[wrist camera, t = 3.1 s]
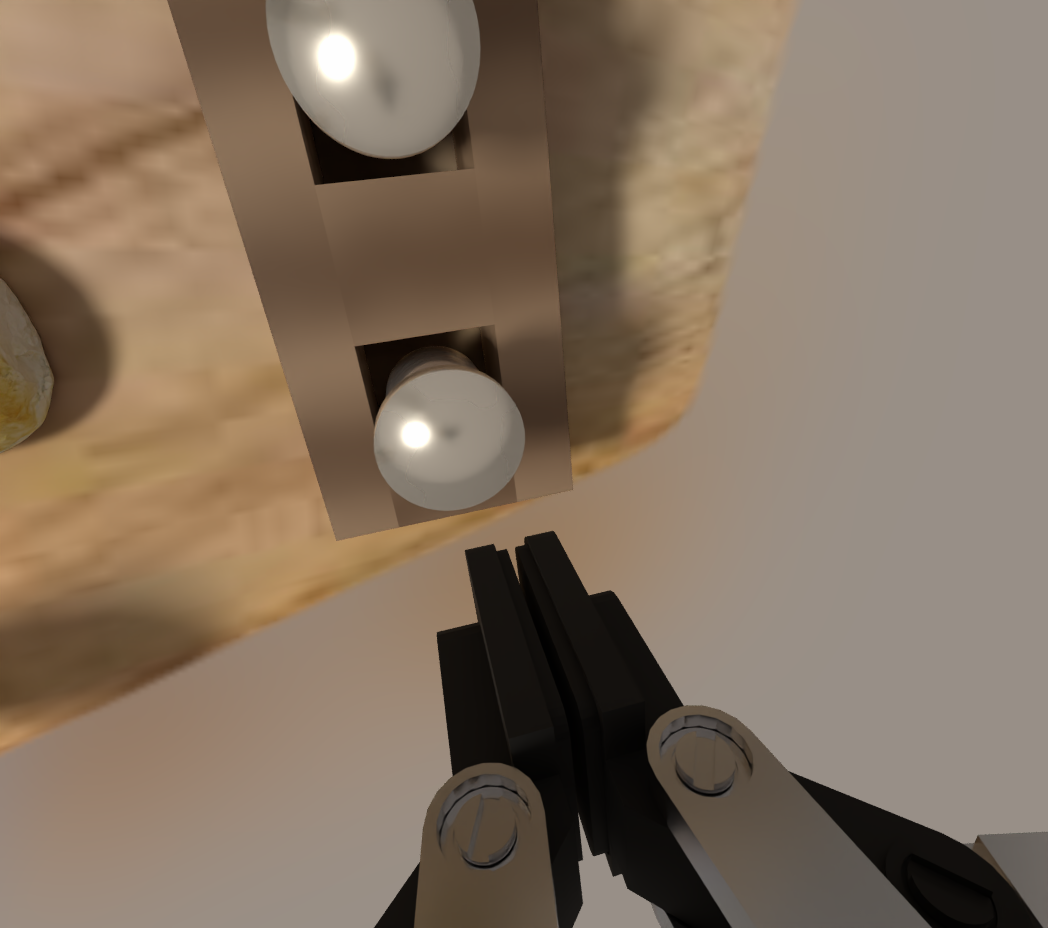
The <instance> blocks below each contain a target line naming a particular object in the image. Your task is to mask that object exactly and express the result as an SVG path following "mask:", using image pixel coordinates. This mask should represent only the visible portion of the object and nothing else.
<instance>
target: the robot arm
mask: <svg viewBox="0 0 1048 928" xmlns="http://www.w3.org/2000/svg"><path fill="white" fill-rule="evenodd" d="M524 543H525V545H523V546H518V547H516V548H515V553H516V560H517V568H518V575H519V581H518V578H517V576H516V573H515V570H514V567H513V565H512V562H511V559H510V556H509V554H508V551H507V549H505V550H500V551H496V548H495V546H494V544H491V545H487V546H482V547H477V548H473V549H468V550H465V555H466V560H467V565H468V571H469V576H470V582H471V587H472V592H473V598H474V603H475V608H476V614H477V619H478V622H477V623H474V624H469V625H465V626H461V627H457V628H453V629H448V630H445V631H440V632H437V643H438V652H439V660H440V669H441V677H442V686H443V695H444V704H445V713H446V722H447V730H448V739H449V748H450V755H451V765H452V774H453V776H452V777H451V778H450V779H449V780H448V781H447V782H446V783H445V784H444V785H443V786H442V787H441V788H440V789H439V790H438V791H437V793H436V795H435V797H434V798H433V800H432V802H431V804H430V806H429V808H428V809H427V814H426V818H425V822H424V826H423V833H422V845H421V855H420V862H419V864H418V865H417V867H416V868H415V870H414V871H413V872H412V874H411V876H410V877H409V878H408V880H407V881H406V882H405V884H404V885H403V887H402V888H401V890H400V891H399V893H398V894H397V895H396V897H395V898H394V900H393V901H392V903H391V904H390V906H389V907H388V909H387V910H386V911H385V913H384V914H383V916H382V917H381V919H380V920H379V921H378V923H377V924H376V926H375V927H374V928H572V927H573V925H574V922H575V921H576V918H577V916H578V913H579V911H580V909H581V907H582V904H583V900H582V891H581V882H580V873H579V864H578V861H581V860H583V856H582V846H581V837H580V827H579V817H578V813H579V816H580V820H581V823H582V825H583V829H584V832H585V835H586V838H587V841H588V845H589V847H590V850H591V853H592V855H593V856H596V855H600V854H603V853H605V854H606V857H607V861H608V864H609V867H610V870H611V872H612V875H613V877H614V876H617V875H619V874H622V875H623V877H624V880H625V883H626V886H627V889H629V890H631V891H632V892H634V893H636V894H637V895H639V896H641V897H643V898H644V899H646V900H648V901H649V902H651V905H652V908H653V910H654V913H655V916H656V918H657V920H658V922H659V924H660V926H661V928H1048V832H1034V833H1012V834H989V835H978V836H977V838H976V840H975V843H969V844H962V843H960V842H958V841H956V840H954V839H952V838H950V837H948V836H946V835H944V834H942V833H940V832H938V831H935V830H932V829H930V828H928V827H925V826H923V825H920V824H918V823H915V822H913V821H910V820H908V819H905V818H903V817H900V816H898V815H895V814H893V813H891V812H888V811H885V810H883V809H881V808H878V807H876V806H873V805H871V804H868V803H866V802H863V801H861V800H858V799H856V798H854V797H851V796H849V795H846V794H843V793H841V792H839V791H836V790H834V789H831V788H829V787H826V786H824V785H821V784H819V783H816V782H814V781H811V780H809V779H806V778H804V777H802V776H799V775H797V774H794V773H792V772H789V771H788V770H787V769H786V768H785V767H784V766H783V765H782V764H781V763H780V762H779V761H778V760H777V758H776V757H774V755H773V754H772V753H771V752H770V751H769V750H768V749H767V748H766V747H765V745H764V744H763V743H762V742H761V741H760V740H759V739H758V738H757V737H756V736H755V734H754V733H753V732H752V731H751V730H750V729H748V728H747V727H746V726H745V725H744V724H743V723H741V722H740V721H739V720H738V719H737V718H735V717H733V716H731V715H729V714H727V713H725V712H723V711H721V710H718V709H715V708H711V707H707V706H696V705H695V706H693V705H692V706H688V705H686V706H683V704H682V702H681V701H680V699H679V697H678V696H677V694H676V692H675V691H674V689H673V687H672V686H671V684H670V683H669V681H668V679H667V678H666V676H665V674H664V673H663V671H662V669H661V668H660V666H659V664H658V663H657V661H656V660H655V658H654V656H653V655H652V653H651V652H650V650H649V648H648V646H647V645H646V643H645V641H644V640H643V638H642V637H641V635H640V633H639V632H638V630H637V628H636V627H635V625H634V623H633V622H632V620H631V618H630V617H629V615H628V614H627V612H626V610H625V609H624V607H623V606H622V604H621V602H620V600H619V599H618V597H617V596H616V595H615V593H614V592H612V591H606V592H601V593H597V594H593V595H588V593H587V592H586V590H585V588H584V586H583V584H582V582H581V580H580V578H579V576H578V575H577V573H576V571H575V569H574V567H573V565H572V564H571V562H570V560H569V558H568V556H567V554H566V552H565V550H564V548H563V547H562V545H561V543H560V541H559V539H558V537H557V535H556V534H555V532H554V531H550V532H545V533H541V534H536V535H532V536H527V537H525V539H524ZM519 582H520V584H519Z"/></svg>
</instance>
